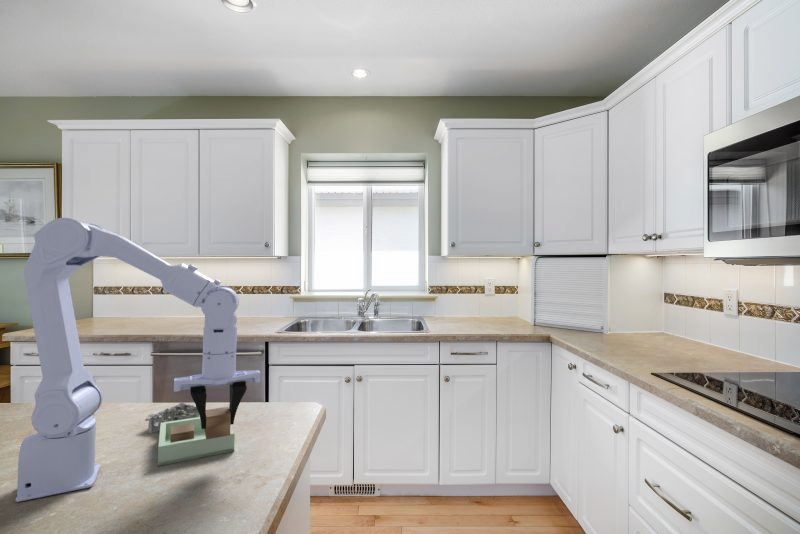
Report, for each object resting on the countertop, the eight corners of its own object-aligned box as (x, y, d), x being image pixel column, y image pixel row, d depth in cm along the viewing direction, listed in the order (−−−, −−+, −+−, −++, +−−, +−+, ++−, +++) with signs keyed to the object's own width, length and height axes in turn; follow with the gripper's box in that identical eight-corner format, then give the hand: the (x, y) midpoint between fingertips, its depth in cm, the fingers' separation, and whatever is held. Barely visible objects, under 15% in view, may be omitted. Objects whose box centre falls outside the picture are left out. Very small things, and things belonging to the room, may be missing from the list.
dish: (157, 466, 72) (158, 446, 72) (160, 439, 83) (160, 422, 83) (234, 451, 78) (234, 433, 78) (226, 428, 90) (227, 412, 90)
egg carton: (165, 437, 85) (166, 418, 85) (141, 432, 88) (141, 413, 88) (205, 420, 95) (206, 403, 95) (182, 415, 98) (183, 399, 98)
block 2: (206, 439, 70) (206, 417, 70) (204, 431, 74) (205, 410, 74) (230, 435, 72) (230, 413, 72) (227, 427, 76) (228, 406, 76)
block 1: (169, 455, 75) (170, 434, 75) (170, 447, 78) (171, 426, 78) (193, 451, 77) (194, 430, 77) (193, 443, 80) (193, 423, 80)
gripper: (174, 359, 66) (172, 440, 66) (264, 352, 73) (262, 425, 73) (175, 351, 72) (172, 425, 72) (257, 346, 79) (255, 413, 79)
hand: (217, 424), depth 73 cm, fingers closed on block 2, 4 cm apart
